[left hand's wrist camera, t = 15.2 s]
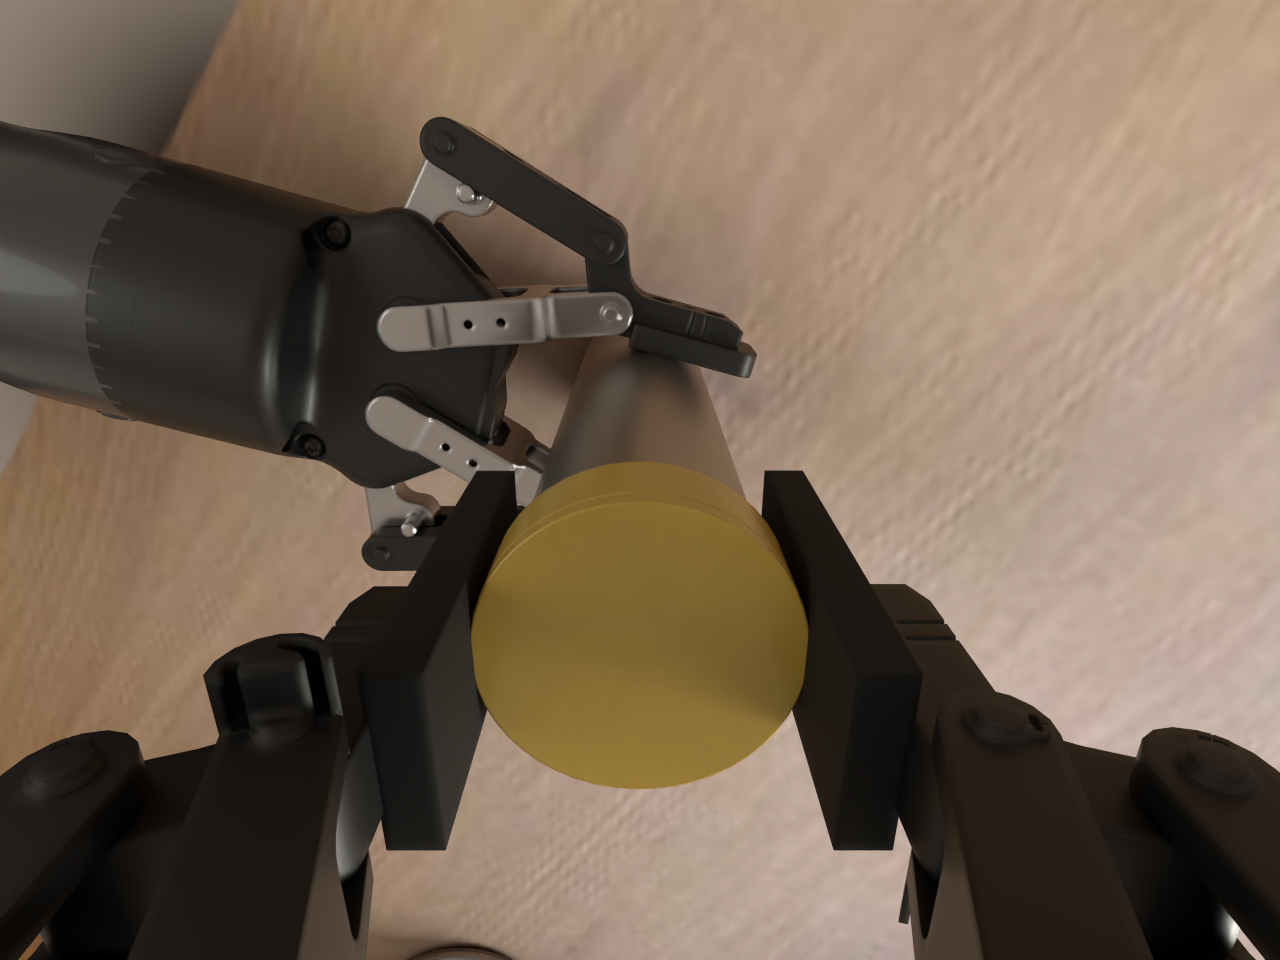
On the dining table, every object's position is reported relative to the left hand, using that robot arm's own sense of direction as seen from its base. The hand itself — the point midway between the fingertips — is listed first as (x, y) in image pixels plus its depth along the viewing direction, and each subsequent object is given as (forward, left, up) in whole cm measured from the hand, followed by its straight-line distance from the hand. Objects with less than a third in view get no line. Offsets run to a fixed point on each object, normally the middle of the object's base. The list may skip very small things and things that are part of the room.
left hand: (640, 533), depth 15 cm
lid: (0, 0, +4) cm, 4 cm away
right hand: (-1, +2, -8) cm, 9 cm away
